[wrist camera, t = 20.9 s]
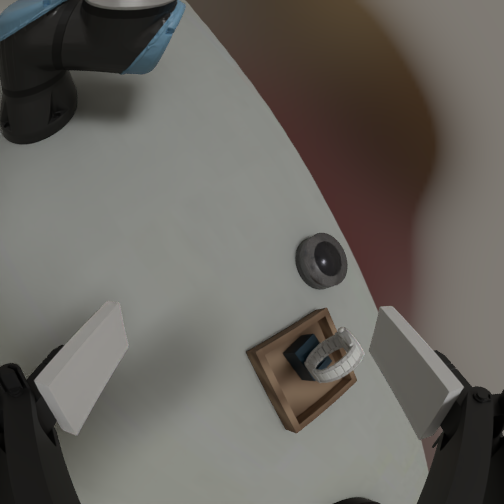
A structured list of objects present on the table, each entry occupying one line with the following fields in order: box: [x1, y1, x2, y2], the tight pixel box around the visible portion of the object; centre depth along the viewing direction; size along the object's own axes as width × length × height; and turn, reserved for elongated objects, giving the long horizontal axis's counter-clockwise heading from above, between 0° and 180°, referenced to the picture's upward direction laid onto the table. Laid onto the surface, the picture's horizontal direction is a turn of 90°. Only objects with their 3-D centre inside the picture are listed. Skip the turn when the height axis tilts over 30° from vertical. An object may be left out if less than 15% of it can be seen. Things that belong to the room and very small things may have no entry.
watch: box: [282, 327, 365, 383], centre depth 34 cm, size 6×8×11 cm
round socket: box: [296, 233, 347, 289], centre depth 45 cm, size 9×9×3 cm
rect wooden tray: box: [246, 308, 357, 433], centre depth 37 cm, size 14×14×3 cm
